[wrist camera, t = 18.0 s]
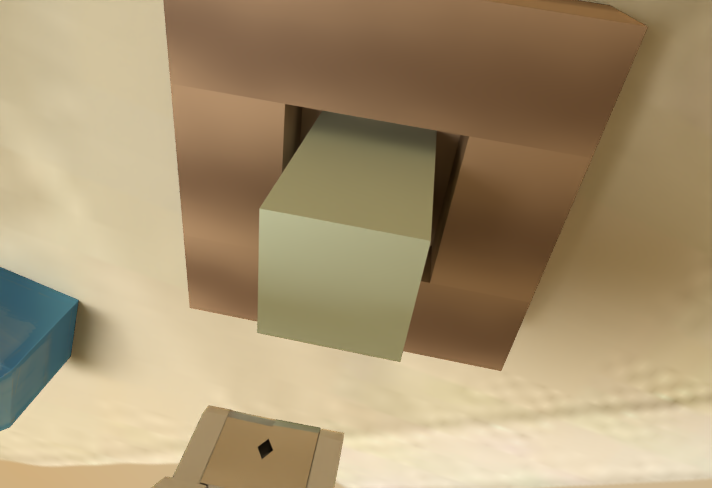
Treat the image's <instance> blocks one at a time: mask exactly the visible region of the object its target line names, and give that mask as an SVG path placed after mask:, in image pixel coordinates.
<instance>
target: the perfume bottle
mask: <svg viewBox="0 0 712 488" xmlns="http://www.w3.org/2000/svg"><path fill="white" fill-rule="evenodd" d="M78 302H79V300H77V299H75V298H72V297H70V296H68V295H65V294H63V293H61V292H58V291H56V290H53V289H51V288H49V287H46V286H44V285H42V284H39V283H37V282H34V281H32V280H30V279H27V278H25V277H23V276H20V275H18V274H15V273H13V272H11V271H8V270H6V269H4V268H1V267H0V431H2V430H4V429H7V428H9V427H10V426H11V425H12V424H13V423H14V422H15V421H16V419H17V418H18V417H19V416H20V415H21V414H22V412H23V411H24V410H25V409H26V408H27V407H28V405H29V404H30V403H31V402H32V401H33V400H34V398H35V397H36V396H37V395H38V394H39V393H40V391H41V390H42V389H43V388H44V387H45V386H46V384H47V383H48V382H49V381H50V380H51V379H52V377H53V376H54V375H55V374H56V373H57V372H58V370H59V369H60V368H61V367H62V366H63V365H64V363H65V362H66V361H67V360H68V359H69V358H70V356H71V351H72V344H73V337H74V330H75V323H76V316H77V309H78Z"/></svg>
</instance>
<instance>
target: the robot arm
mask: <svg viewBox="0 0 712 488" xmlns="http://www.w3.org/2000/svg"><path fill="white" fill-rule="evenodd" d="M343 438H344V433H342V432H337V431H331V430H326V429H321V428H319V427H314V426H308V425H303V424H298V423H292V422H287V421H282V420H277V419H276V420H275V419H270V418H265V417H261V416H256V415H251V414H246V413H242V412H237V411H233V410H230V409H225V408H219V407H214V406H208V407H207V408H206V410H205V411H204V412H203V414H202V416H201V418H200V420H199V422H198V424H197V427H196V429H195V431H194V433H193V435H192V437H191V439H190V441H189V444H188V446H187V448H186V450H185V452H184V454H183V456H182V458H181V461H180V463H179V465H178V467H177V469H176V472H175V473H174V475H173V478H171V477H164V478H163V479H162V480H160V481H159V482H158V483H156V484H155V485H154V486H152V487H151V488H334V487H335V481H336V476H337V471H338V465H339V460H340V455H341V449H342V444H343Z"/></svg>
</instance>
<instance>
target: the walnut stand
mask: <svg viewBox="0 0 712 488" xmlns="http://www.w3.org/2000/svg"><path fill="white" fill-rule="evenodd" d="M164 11H165V23H166V35H167V46H168V58H169V70H170V81H171V93H172V105H173V116H174V128H175V140H176V151H177V163H178V175H179V186H180V198H181V210H182V221H183V233H184V245H185V256H186V268H187V280H188V291H189V303H190V308H194V309H199V310H203V311H208V312H213V313H218V314H223V315H228V316H233V317H238V318H243V319H248V320H253V321H258V261H259V208H260V207H261V205H262V204H263V202H264V201H265V199H266V197H267V196H268V194H269V193H270V191H271V190H272V188H273V187H274V185H275V183H276V182H277V180H278V179H279V177H280V176H281V174H282V173H283V171H284V170H285V168H286V166H287V165H288V163H289V162H290V160H291V159H292V157H293V156H294V154H295V152H296V151H297V149H298V148H299V146H300V145H301V143H302V142H303V140H304V139H305V137H306V135H307V134H308V132H309V131H310V129H311V128H312V126H313V125H314V123H315V121H316V120H317V118H318V117H319V115H320V114H321V112H322V111H328V112H334V113H339V114H345V115H351V116H356V117H362V118H368V119H373V120H379V121H385V122H390V123H396V124H402V125H407V126H413V127H419V128H424V129H430V130H436V131H437V136H436V155H435V173H434V192H433V210H432V229H431V242H430V246H429V250H428V254H427V258H426V262H425V266H424V270H423V274H422V278H421V282H420V286H419V290H418V294H417V298H416V302H415V306H414V309H413V313H412V317H411V321H410V325H409V329H408V333H407V337H406V341H405V345H404V349H403V351H405V352H410V353H415V354H420V355H425V356H430V357H435V358H440V359H445V360H450V361H454V362H459V363H464V364H469V365H474V366H479V367H484V368H489V369H494V370H499V371H501V370H502V368H503V366H504V363H505V361H506V359H507V356H508V354H509V352H510V349H511V347H512V345H513V342H514V340H515V338H516V335H517V333H518V330H519V328H520V326H521V323H522V321H523V319H524V316H525V314H526V312H527V309H528V307H529V305H530V302H531V300H532V298H533V295H534V293H535V291H536V288H537V286H538V284H539V281H540V279H541V277H542V274H543V272H544V269H545V267H546V265H547V262H548V260H549V258H550V255H551V253H552V251H553V248H554V246H555V244H556V241H557V239H558V237H559V234H560V232H561V230H562V227H563V225H564V223H565V220H566V218H567V215H568V213H569V211H570V208H571V206H572V204H573V201H574V199H575V197H576V194H577V192H578V190H579V187H580V185H581V183H582V180H583V178H584V176H585V173H586V171H587V169H588V166H589V164H590V162H591V159H592V157H593V154H594V152H595V150H596V147H597V145H598V143H599V140H600V138H601V136H602V133H603V131H604V129H605V126H606V124H607V122H608V119H609V117H610V115H611V112H612V110H613V108H614V105H615V103H616V101H617V98H618V96H619V93H620V91H621V89H622V86H623V84H624V82H625V79H626V77H627V75H628V72H629V70H630V68H631V65H632V63H633V61H634V58H635V56H636V54H637V51H638V49H639V47H640V44H641V42H642V39H643V37H644V35H645V32H646V30H647V28H648V27H647V26H646V25H644V24H642V23H640V22H639V21H637V20H635V19H633V18H631V17H630V16H628V15H626V14H624V13H622V12H621V11H619V10H617V9H615V8H613V7H612V6H610V5H604V4H598V3H592V2H585V1H579V0H164Z"/></svg>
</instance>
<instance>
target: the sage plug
mask: <svg viewBox="0 0 712 488" xmlns="http://www.w3.org/2000/svg"><path fill="white" fill-rule="evenodd" d="M436 136H437V131H436V130H430V129H424V128H419V127H413V126H407V125H402V124H396V123H390V122H385V121H379V120H373V119H368V118H362V117H356V116H351V115H345V114H339V113H334V112H328V111H322V112H321V114H320V115H319V117H318V118H317V120H316V121H315V123H314V125H313V126H312V128H311V129H310V131H309V132H308V134H307V135H306V137H305V139H304V140H303V142H302V143H301V145H300V146H299V148H298V149H297V151H296V152H295V154H294V156H293V157H292V159H291V160H290V162H289V163H288V165H287V166H286V168H285V170H284V171H283V173H282V174H281V176H280V177H279V179H278V180H277V182H276V183H275V185H274V187H273V188H272V190H271V191H270V193H269V194H268V196H267V197H266V199H265V201H264V202H263V204H262V205H261V207H260V208H259V261H258V321H257V333H261V334H266V335H270V336H275V337H280V338H285V339H290V340H295V341H300V342H305V343H310V344H314V345H319V346H324V347H329V348H334V349H339V350H344V351H349V352H354V353H358V354H363V355H368V356H373V357H378V358H383V359H388V360H393V361H398V362H400V361H401V357H402V353H403V349H404V345H405V341H406V337H407V333H408V329H409V325H410V321H411V317H412V313H413V309H414V306H415V302H416V298H417V294H418V290H419V286H420V282H421V278H422V274H423V270H424V266H425V262H426V258H427V254H428V250H429V246H430V242H431V229H432V210H433V192H434V173H435V155H436Z"/></svg>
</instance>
